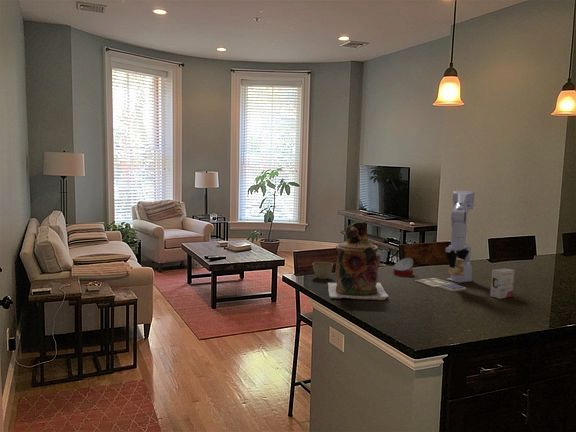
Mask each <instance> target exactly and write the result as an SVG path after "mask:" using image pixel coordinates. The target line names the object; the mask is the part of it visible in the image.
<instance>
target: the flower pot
mask: <svg viewBox="0 0 576 432" xmlns="http://www.w3.org/2000/svg"><path fill="white" fill-rule="evenodd" d="M333 267H334V263H333V262H328V261H326V262H325V261H316V262H312V269H313V272H314V274H315V276H316V278H317V279H318V278H319V279H318V280H326V279H328V278H329V277H330V275H331V273H332V271H333Z"/></svg>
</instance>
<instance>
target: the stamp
mask: <svg viewBox="0 0 576 432" xmlns="http://www.w3.org/2000/svg"><path fill="white" fill-rule="evenodd" d="M463 268H464V260H463V259H460V258H456V263H455V268H451V267H450V266H449V267H448V269H449V270H447V274H449V275H450V276H451V275H454V276H457V275H464V272H463Z"/></svg>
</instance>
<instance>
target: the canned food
mask: <svg viewBox="0 0 576 432" xmlns="http://www.w3.org/2000/svg"><path fill="white" fill-rule="evenodd" d="M413 265H414V260H413V259H412V258H411V257H405V258H402V259H400V260H399V261H397V262H395V264H394V265H393V268H392V269H393V275H395V276H398V277H412V276H413V274H414V268H412V267H413Z"/></svg>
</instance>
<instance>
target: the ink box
mask: <svg viewBox="0 0 576 432" xmlns="http://www.w3.org/2000/svg"><path fill="white" fill-rule="evenodd" d="M490 278H491V280H490V282H491V283H490V296H489V297H493V298H496V299H499V300H501V299H507V298H511V297H513V293H514V291H513V290H514V280H515V279H514V278H515V270H514V269H510V268H506V267H505V268H495V269H491V277H490Z"/></svg>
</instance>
